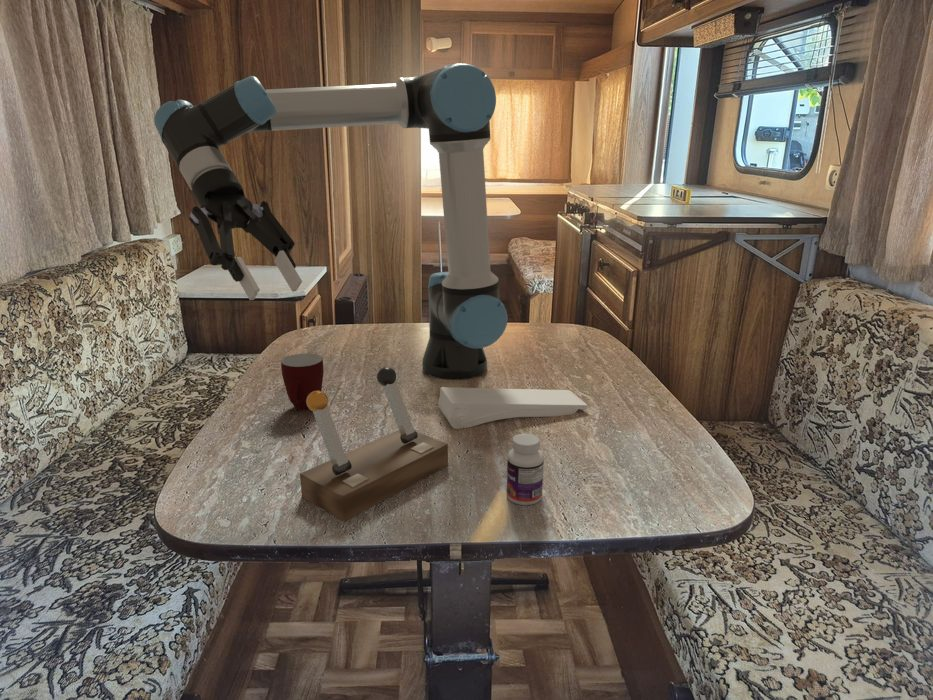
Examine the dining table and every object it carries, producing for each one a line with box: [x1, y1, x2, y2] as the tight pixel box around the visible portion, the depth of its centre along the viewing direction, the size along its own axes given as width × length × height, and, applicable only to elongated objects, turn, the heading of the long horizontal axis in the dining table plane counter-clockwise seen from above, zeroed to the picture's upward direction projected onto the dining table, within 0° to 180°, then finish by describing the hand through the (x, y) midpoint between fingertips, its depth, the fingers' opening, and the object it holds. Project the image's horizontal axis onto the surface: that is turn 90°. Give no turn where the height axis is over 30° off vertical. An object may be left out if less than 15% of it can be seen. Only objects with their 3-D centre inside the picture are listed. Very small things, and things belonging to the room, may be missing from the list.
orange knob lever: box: [306, 391, 352, 475], centre depth 99 cm, size 3×3×13 cm
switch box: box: [299, 429, 449, 522], centre depth 105 cm, size 10×22×4 cm, turn 139°
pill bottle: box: [506, 432, 545, 506], centre depth 99 cm, size 5×5×10 cm
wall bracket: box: [437, 386, 588, 430], centre depth 131 cm, size 10×7×28 cm
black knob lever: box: [376, 366, 418, 444], centre depth 109 cm, size 3×3×13 cm
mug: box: [280, 353, 325, 411], centre depth 131 cm, size 10×8×10 cm
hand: (276, 290), depth 106 cm, fingers open, 7 cm apart
